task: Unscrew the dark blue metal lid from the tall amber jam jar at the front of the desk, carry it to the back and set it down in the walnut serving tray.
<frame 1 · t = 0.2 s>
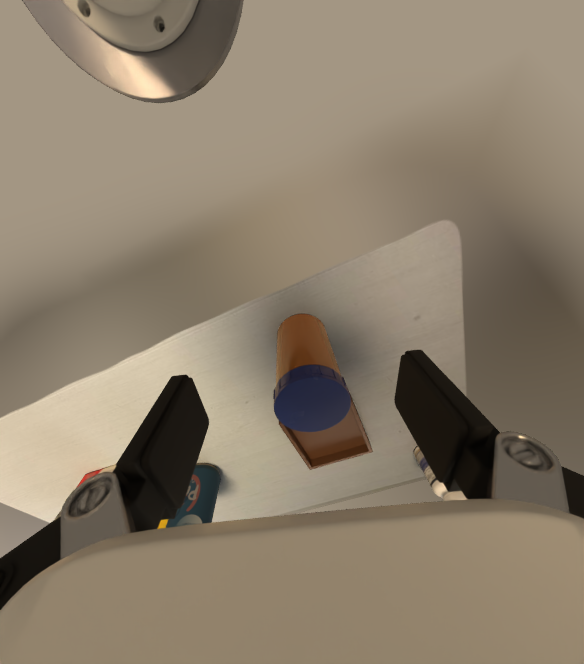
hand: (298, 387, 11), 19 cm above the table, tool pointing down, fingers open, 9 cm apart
soda can: (204, 470, 46), on the table
pill bottle: (426, 448, 46), on the table
jar lid: (312, 403, 21), point 12 cm above the table, screwed on, not yet turned
tray: (326, 429, 41), on the table
jar: (301, 335, 31), on the table
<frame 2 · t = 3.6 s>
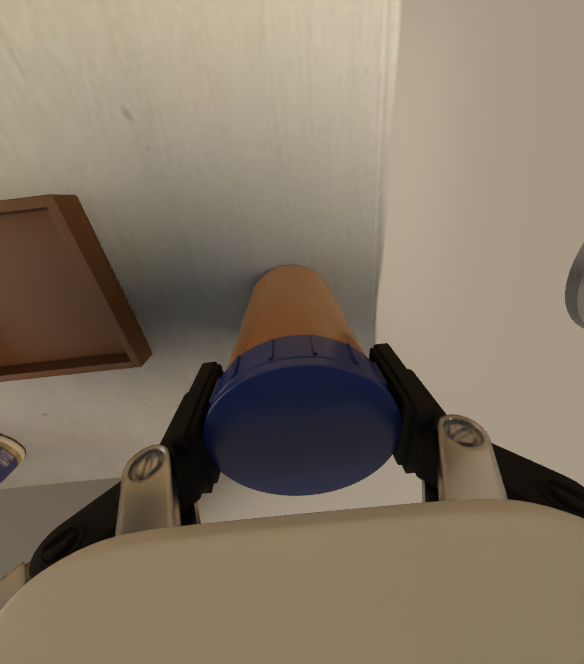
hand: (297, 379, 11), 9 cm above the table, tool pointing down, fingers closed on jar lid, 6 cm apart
pill bottle: (1, 445, 26), on the table
jar lid: (302, 434, 8), point 12 cm above the table, screwed on, not yet turned, touching gripper
tray: (30, 298, 18), on the table
jar: (291, 305, 19), on the table
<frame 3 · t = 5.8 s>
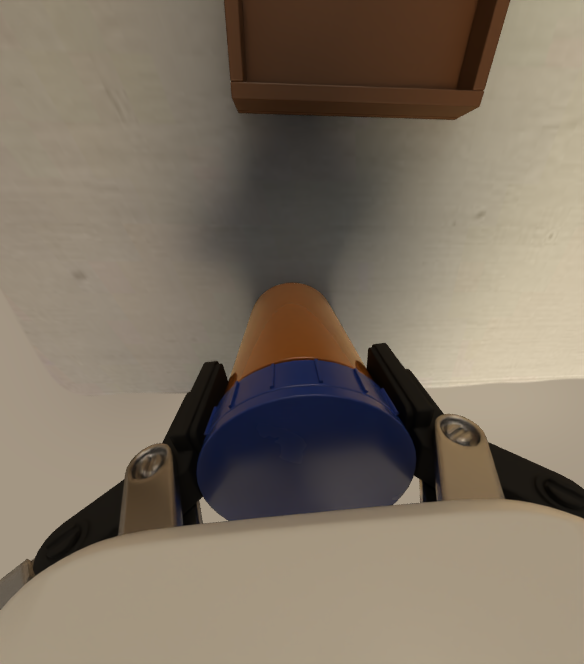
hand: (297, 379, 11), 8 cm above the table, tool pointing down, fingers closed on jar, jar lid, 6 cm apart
jar lid: (306, 468, 8), point 12 cm above the table, turned 97° so far, risen 0.1 cm, still on its thread, touching gripper
jar: (291, 323, 19), on the table, touching gripper
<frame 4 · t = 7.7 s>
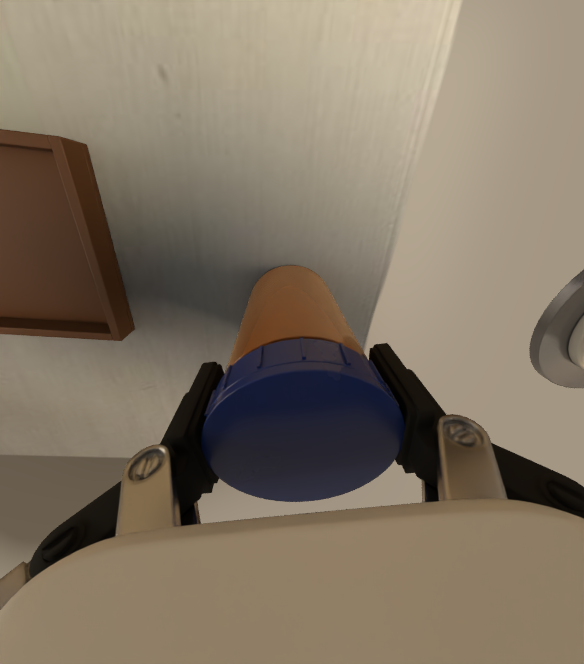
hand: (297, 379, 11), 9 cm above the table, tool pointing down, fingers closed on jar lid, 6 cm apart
jar lid: (303, 439, 8), point 12 cm above the table, turned 107° so far, risen 0.2 cm, still on its thread, touching gripper
tray: (5, 243, 16), on the table
jar: (290, 306, 19), on the table
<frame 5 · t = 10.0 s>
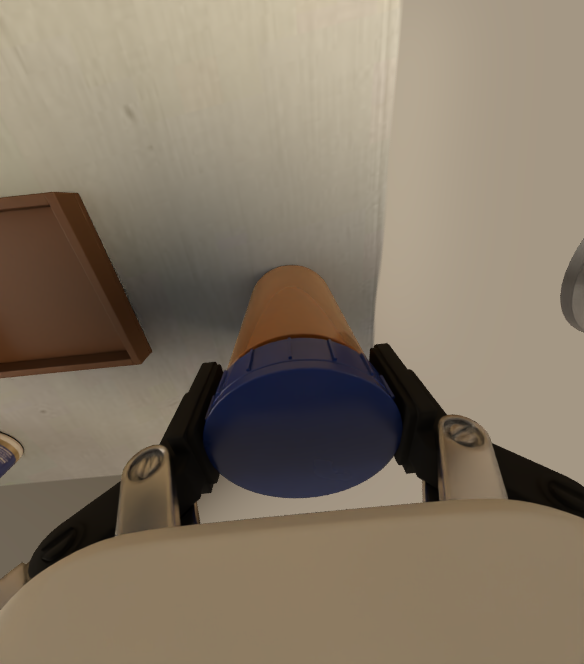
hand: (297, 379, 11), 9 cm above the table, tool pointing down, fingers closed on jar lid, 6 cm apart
jar lid: (302, 436, 8), point 12 cm above the table, turned 191° so far, risen 0.3 cm, still on its thread, touching gripper
tray: (30, 294, 18), on the table
jar: (291, 305, 19), on the table
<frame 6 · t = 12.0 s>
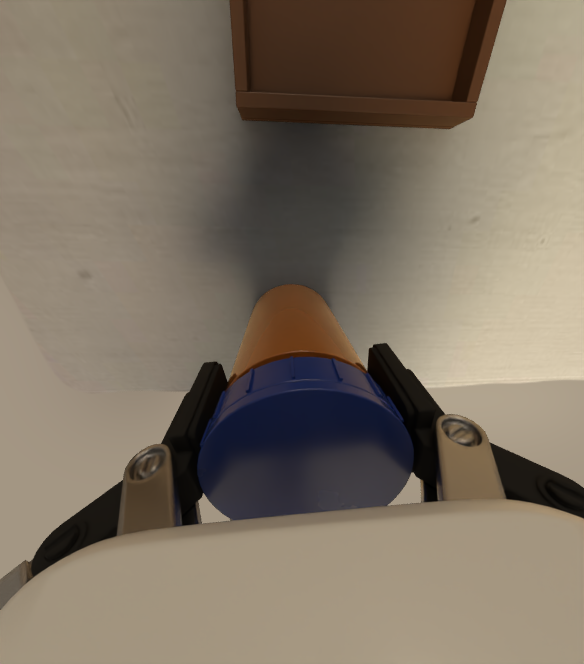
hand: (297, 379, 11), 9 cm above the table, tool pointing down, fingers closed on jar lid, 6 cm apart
jar lid: (305, 464, 8), point 12 cm above the table, turned 288° so far, risen 0.4 cm, still on its thread, touching gripper
jar: (291, 324, 19), on the table, touching gripper
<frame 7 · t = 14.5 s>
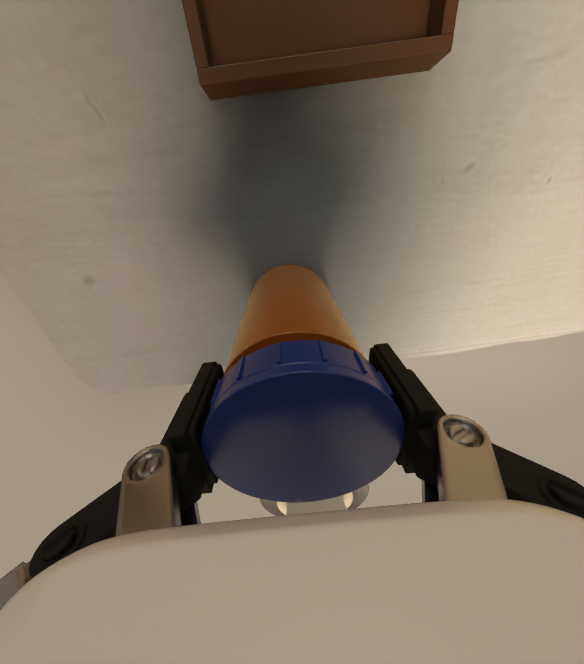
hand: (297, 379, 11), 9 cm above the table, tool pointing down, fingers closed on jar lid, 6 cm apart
jar lid: (303, 440, 8), point 13 cm above the table, off its thread, touching gripper
jar: (290, 304, 19), on the table
when the fingers open (2 cm above the table, at t = 23.3 s): jar lid drops 3 cm, resting on tray.
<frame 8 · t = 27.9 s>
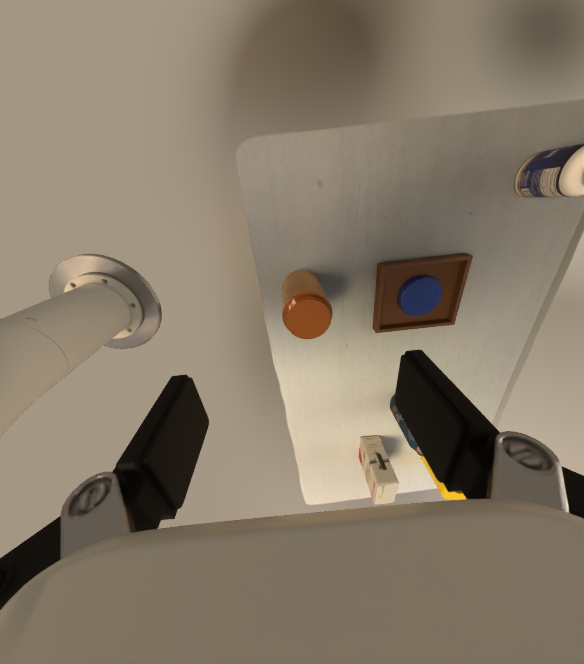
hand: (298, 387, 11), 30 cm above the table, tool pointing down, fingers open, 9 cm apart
soda can: (402, 399, 54), on the table
pill bottle: (531, 175, 33), on the table
ink box: (368, 445, 62), on the table
jar lid: (420, 297, 40), point 2 cm above the table, off its thread, touching tray
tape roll: (439, 452, 64), on the table
tray: (415, 293, 41), on the table
jar: (301, 289, 40), on the table
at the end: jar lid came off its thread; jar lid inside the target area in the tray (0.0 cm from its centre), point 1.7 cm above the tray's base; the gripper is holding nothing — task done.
